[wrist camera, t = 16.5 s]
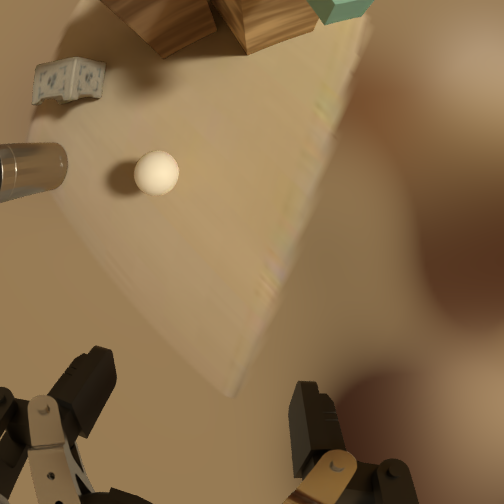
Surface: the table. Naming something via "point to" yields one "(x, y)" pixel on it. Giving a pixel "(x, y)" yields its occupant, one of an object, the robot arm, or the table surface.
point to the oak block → (266, 21)
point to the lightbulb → (156, 173)
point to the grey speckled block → (68, 80)
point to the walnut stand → (166, 21)
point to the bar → (339, 9)
